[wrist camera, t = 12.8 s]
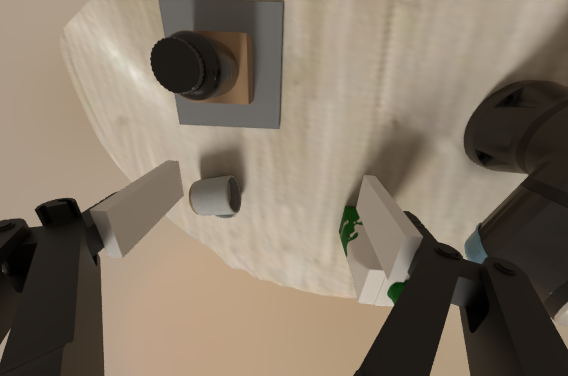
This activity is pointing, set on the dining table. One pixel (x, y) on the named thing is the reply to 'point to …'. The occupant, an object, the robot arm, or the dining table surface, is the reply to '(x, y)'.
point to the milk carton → (366, 264)
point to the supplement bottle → (194, 65)
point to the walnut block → (244, 57)
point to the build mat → (266, 57)
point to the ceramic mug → (216, 197)
